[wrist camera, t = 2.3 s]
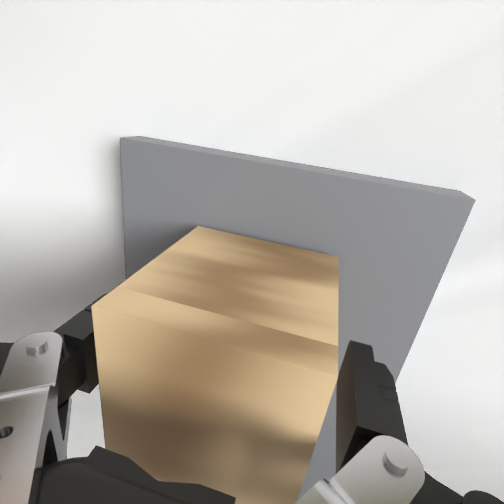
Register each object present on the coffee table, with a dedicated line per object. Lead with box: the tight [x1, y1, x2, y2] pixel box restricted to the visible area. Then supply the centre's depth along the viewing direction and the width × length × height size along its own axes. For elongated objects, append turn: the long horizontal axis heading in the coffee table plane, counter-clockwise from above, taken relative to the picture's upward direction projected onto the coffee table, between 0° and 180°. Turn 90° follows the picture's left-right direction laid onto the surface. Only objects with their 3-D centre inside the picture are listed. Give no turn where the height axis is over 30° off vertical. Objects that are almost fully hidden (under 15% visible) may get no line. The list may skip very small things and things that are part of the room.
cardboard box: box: [91, 226, 339, 504], centre depth 11 cm, size 6×6×6 cm
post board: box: [120, 136, 475, 501], centre depth 15 cm, size 14×24×8 cm, turn 171°
